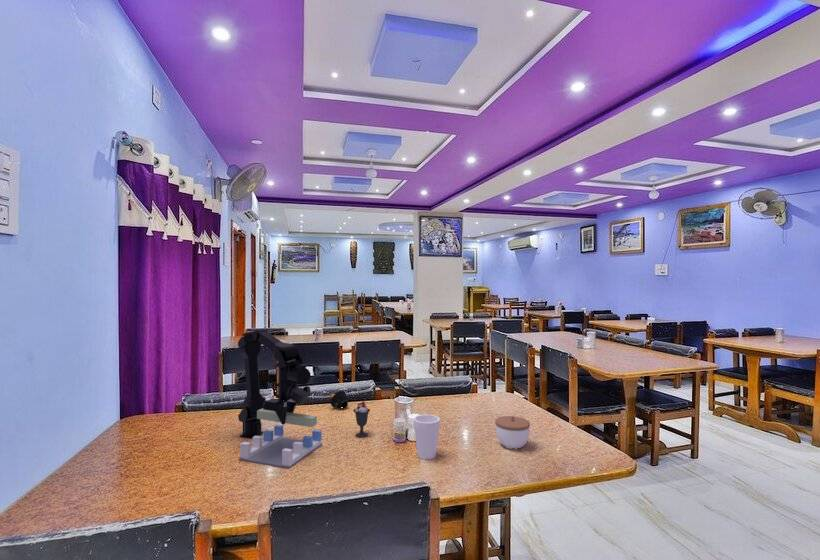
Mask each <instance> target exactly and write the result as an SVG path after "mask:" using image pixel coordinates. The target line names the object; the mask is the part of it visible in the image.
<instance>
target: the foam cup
mask: <svg viewBox="0 0 820 560" xmlns="http://www.w3.org/2000/svg"><path fill="white" fill-rule="evenodd" d="M412 420H413V425H412V426H413V428H414V429H413V430H414V435H415V437H414V438H415V445H416V452H417V457H418V458H419V459H421V460H433V459H435V458H436V455H437V449H438V448H437V447H438V438H439V431H440V427H441V418H440V417H439V416H437V415H435V414H427V413H426V414H418V415H416V416H414V417H413V419H412Z"/></svg>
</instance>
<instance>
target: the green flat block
mask: <svg viewBox="0 0 820 560" xmlns="http://www.w3.org/2000/svg"><path fill="white" fill-rule="evenodd" d="M257 419H261V420H263V421H267V422H269V421H270V422H275V423H276V422H277V423H281V422H280V420H279V418H278V416H277V414H276V412H275V411H270V410H264V409H263V408H262V409H260V410H257ZM317 422H318V417H317V416H316V415H311V414H304V413H297V412H296V413H295V412H293V413H291V412H286V420H285V424H289V425H295V426H300V427H306V428H307V427H308V428H313V427H315V426H317Z"/></svg>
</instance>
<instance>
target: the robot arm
mask: <svg viewBox="0 0 820 560" xmlns="http://www.w3.org/2000/svg"><path fill="white" fill-rule="evenodd" d="M262 345H263V346H264V347H265V348H266V349H268V350H269V351H270V352H272V353H273V358H274V359H275V360H276V361H277V363H276V364H275V367H276V368H278V382H277V383H275V387H278V389H277V390H278V394H275V398H276V399H275V398H270V399H268V400H266V397H265V396H264V397H263V396H262V395H263V394H261V392H260V391H261V389H260V388H261V387H260V375H259V363H258V362H259V361H258V356H259V355H260V353H261V352H262V351H261V350H262ZM237 347H238V350H239V354H240V355H241V356H242V358H243V360H244V372H245V375H244V376H245V388H246V389H245V390H246V395H245V396H246V397H244V400H243V403H242V409H241V411H240V413H239V414H238V416H237V418H238V422H241V423H242V433H240V434H239V437H242V438H248V439H253V437H254V436H260V435H262V434H264V431H262V421H261V420H262V419H257V410H260V409H262V408H263V409H264V410H270V411H275V412H276V414H277V416H278V418H279V420H280V422H279V423H280V425H283V426H284V425H286V423H285V420H286V412H291V413H295V409H296V407H297V406H298V405H300V404H303V403H305V402H307V401H308V398H309V397H311V395H312V394H311V387H310V386H309V385H307V383H309V382H310V380H311V374H312V373H311V372H310V370H309V369H308V368H307V364H304V362H303V361H304V360H303V358H302V357H301V355H300V352H299V349H298V347H297V346H296V345H295V344H292V343H289V342H283V341H281V340H280V339H279V338H278V337H275V336H274V335H273V334H271V333H270V332H269V331H268V330H267V329H264V328H263V329H255V330H253V331H252V332H251V333H248V334H246V335H244V336H241V337H240V338H239V340H238V341H237ZM299 385H301V386H303V387H299ZM304 385H306V386H304Z"/></svg>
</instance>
